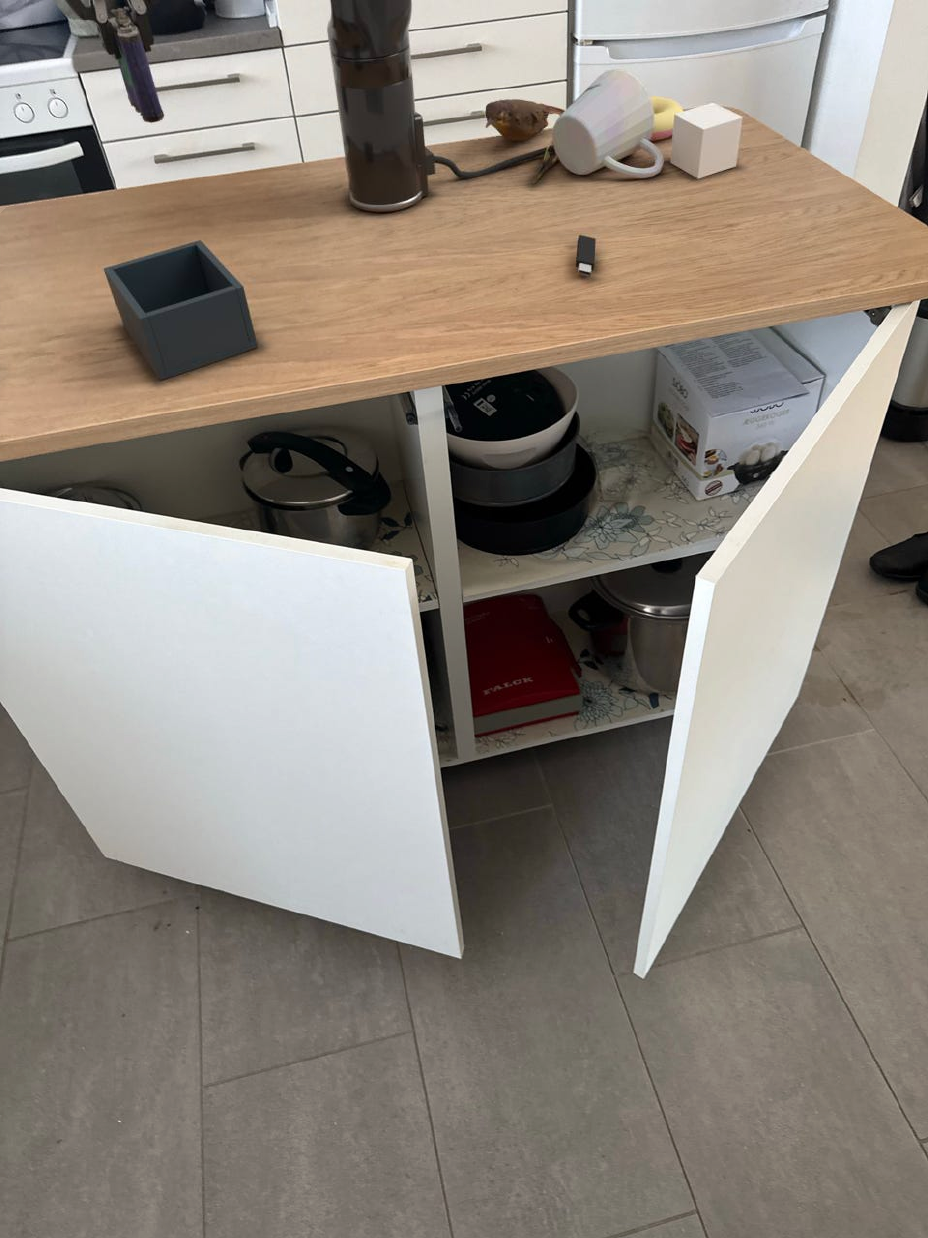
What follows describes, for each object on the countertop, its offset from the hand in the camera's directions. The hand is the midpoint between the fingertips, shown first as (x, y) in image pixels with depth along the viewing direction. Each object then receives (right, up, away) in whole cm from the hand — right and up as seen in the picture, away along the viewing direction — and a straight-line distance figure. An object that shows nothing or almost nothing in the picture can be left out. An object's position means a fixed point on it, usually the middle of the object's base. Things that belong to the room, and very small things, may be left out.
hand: (131, 53), depth 109 cm
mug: (+54, -7, +11) cm, 55 cm away
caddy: (+9, -35, -9) cm, 38 cm away
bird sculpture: (+47, +2, +24) cm, 53 cm away
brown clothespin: (+49, -6, +17) cm, 52 cm away
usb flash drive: (+52, -24, -3) cm, 58 cm away
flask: (0, -4, +5) cm, 6 cm away
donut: (+68, +1, +20) cm, 71 cm away
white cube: (+70, -3, +7) cm, 70 cm away
